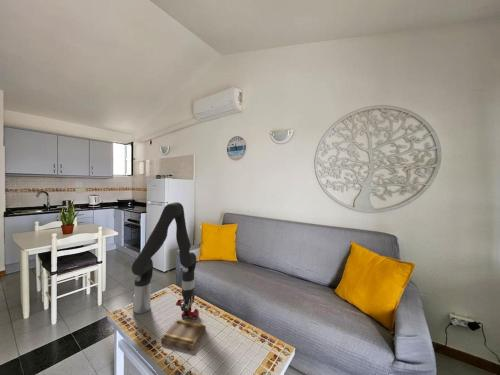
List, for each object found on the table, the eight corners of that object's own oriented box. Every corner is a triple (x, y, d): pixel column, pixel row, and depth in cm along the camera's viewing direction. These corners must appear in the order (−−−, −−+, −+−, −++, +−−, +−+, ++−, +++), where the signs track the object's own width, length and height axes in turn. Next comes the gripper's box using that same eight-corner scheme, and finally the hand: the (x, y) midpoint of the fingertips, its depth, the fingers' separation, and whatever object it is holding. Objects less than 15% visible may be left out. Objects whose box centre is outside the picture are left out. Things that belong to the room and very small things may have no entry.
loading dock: (161, 343, 105) (161, 335, 105) (177, 324, 119) (177, 317, 119) (192, 351, 101) (192, 343, 101) (205, 331, 115) (205, 324, 115)
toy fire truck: (197, 319, 124) (197, 303, 124) (175, 317, 125) (175, 301, 125) (199, 315, 127) (199, 300, 127) (178, 313, 129) (178, 298, 128)
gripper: (188, 280, 133) (188, 306, 134) (175, 291, 120) (175, 320, 120) (199, 281, 132) (198, 308, 132) (187, 293, 118) (186, 322, 118)
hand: (187, 313), depth 126 cm, fingers closed on toy fire truck, 3 cm apart
